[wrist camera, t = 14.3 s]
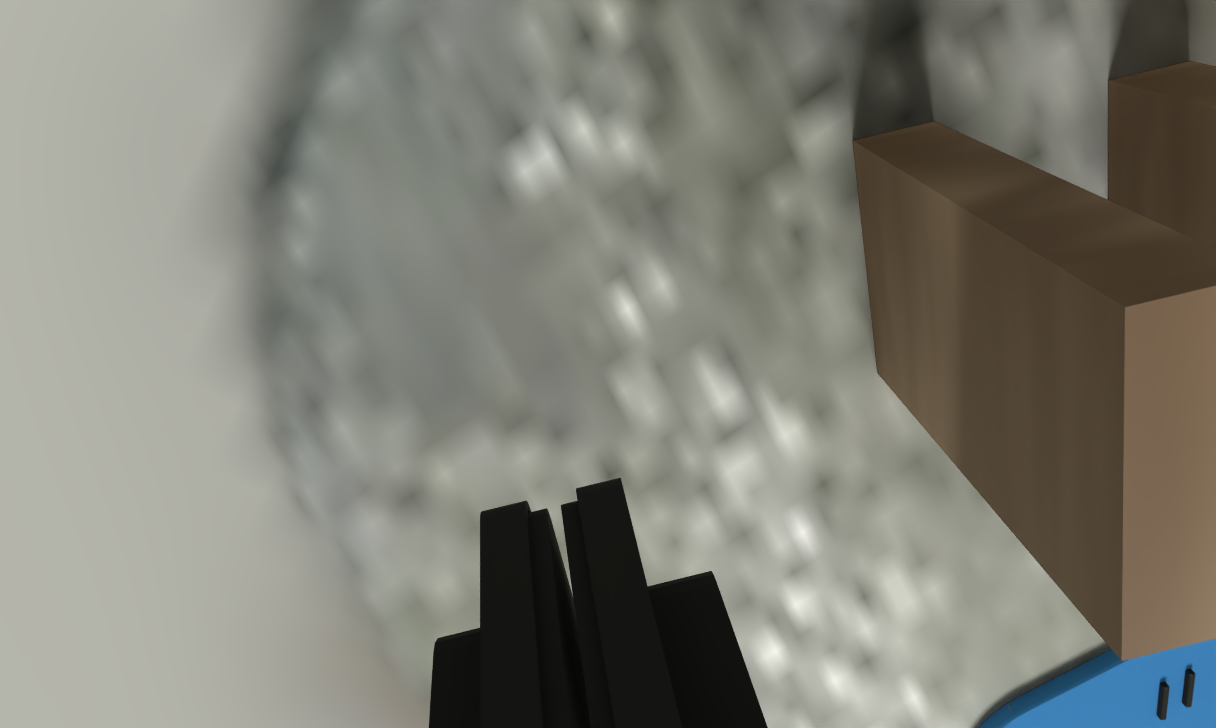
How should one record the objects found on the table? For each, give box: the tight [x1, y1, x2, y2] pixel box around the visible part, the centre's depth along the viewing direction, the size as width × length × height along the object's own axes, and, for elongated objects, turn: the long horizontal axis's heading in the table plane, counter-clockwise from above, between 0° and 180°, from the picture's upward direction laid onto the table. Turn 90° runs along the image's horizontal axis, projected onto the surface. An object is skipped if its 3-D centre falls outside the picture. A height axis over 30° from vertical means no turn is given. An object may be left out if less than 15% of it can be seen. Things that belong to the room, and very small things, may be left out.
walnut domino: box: [853, 121, 1216, 661], centre depth 16 cm, size 2×5×9 cm, turn 11°
